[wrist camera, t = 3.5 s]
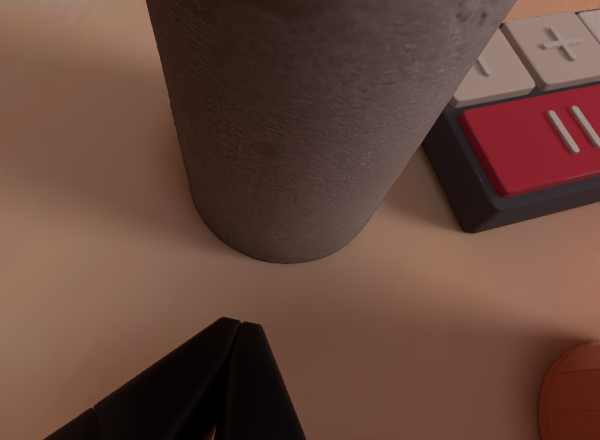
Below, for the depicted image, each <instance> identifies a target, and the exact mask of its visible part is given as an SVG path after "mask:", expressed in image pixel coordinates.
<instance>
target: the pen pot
mask: <svg viewBox="0 0 600 440" xmlns="http://www.w3.org/2000/svg"><path fill="white" fill-rule="evenodd" d="M538 417H539V428H540V434H541V439H542V440H600V340H599V341H596V342H592V343H586V344H582V345H579V346H576V347H574V348H571V349H569V350H568V351H566V352H565V353H563V354H562V355H561V356H560V357H559V358H558V359H557V360H556V361H555V362H554V363H553V364H552V366H551V367H550V369H549V370H548V372H547V374H546V376H545V379H544V381H543V384H542V388H541V391H540V398H539V413H538Z"/></svg>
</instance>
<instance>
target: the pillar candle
mask: <svg viewBox="0 0 600 440" xmlns="http://www.w3.org/2000/svg"><path fill="white" fill-rule="evenodd" d="M516 1H517V0H146V3H147V7H148V12H149V16H150V20H151V24H152V28H153V32H154V35H155V39H156V43H157V48H158V52H159V55H160V60H161V64H162V68H163V73H164V77H165V82H166V85H167V89H168V94H169V98H170V101H171V102H170V107H171V110H172V114H173V118H174V124H175V126H176V131H177V135H178V140H179V143H180V148H181V151H182V156H183V161H184V165H185V170H186V173H187V176H188V179H189V186H190V192H191V194H192V198H193V202H194V204H195V206H196V208H197V210H198V212H199V213H200V215H201V217H202V218H203V220H204V221H205V223H206V224H207V226H208V227H209V228H210V229H211V230H212V231H213V232H214V233H215V234H216V235H217V236H218V237H219V238H220V239H222V240H223V241H224V242H226V243H227V244H229V245H230V246H231V247H233V248H234V249H236V250H238V251H240V252H242V253H244V254H246V255H249V256H251V257H253V258H257V259H261V260H264V261H270V262H278V263H299V262H307V261H312V260H316V259H319V258H322V257H325V256H327V255H330V254H332V253H334V252H336V251H338V250H339V249H341V248H342V247H344V246H346V245H347V244H348V243H349V242H350V241H351V240H352V239H354V238H355V237H356V236H357V234H358V233H359V232H360V231H361V230H362V229H363V227H364V226H365V225H366V223H367V222H368V220H369V219H370V217H371V216H372V215H373V213H374V212H375V211H376V209H377V208H378V206H379V205H380V203H381V202H382V200H383V199H384V197H385V196H386V194H387V193H388V191H389V190H390V188H391V187H392V185H393V184H394V183H395V181H396V180H397V178H398V177H399V176H400V174H401V173H402V171H403V170H404V168H405V167H406V165H407V163H408V162H409V161H410V159H411V158H412V156H413V155H414V153H415V152H416V150H417V149H418V147H419V146H420V145H421V143H422V141H423V140H424V138H425V136H426V135H427V133H428V132H429V130H430V129H431V127H432V126H433V125H434V123H435V121H436V120H437V118H438V117H439V115H440V113H441V112H442V111H443V109H444V108H445V106H446V105H447V104H448V102H449V101H450V99H451V98H452V96H453V95H454V93H455V92H456V90H457V89H458V87H459V86H460V84H461V82H462V81H463V79H464V78H465V76H466V75H467V73H468V72H469V71H470V69H471V67H472V66H473V65H474V63H475V62H476V60H477V59H478V57H479V56H480V54H481V53H482V51H483V50H484V48H485V47H486V45H487V44H488V42H489V41H490V39H491V38H492V36H493V35H494V33H495V32H496V31H497V29H498V28H499V26H500V25H501V23H502V22H503V20H504V19H505V17H506V16H507V14H508V13H509V11H510V10H511V8H512V7H513V5H514V4H515V3H516Z"/></svg>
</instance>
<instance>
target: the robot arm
mask: <svg viewBox="0 0 600 440" xmlns="http://www.w3.org/2000/svg"><path fill="white" fill-rule="evenodd" d="M215 428H216V429H215ZM214 431H215V435H214V440H306V437H305V435H304V432H303V430H302V427H301V424H300V422H299V419H298V417H297V414H296V412H295V409H294V407H293V404H292V402H291V399H290V396H289V394H288V391H287V389H286V386H285V384H284V381H283V379H282V376H281V373H280V371H279V368H278V366H277V363H276V361H275V358H274V356H273V353H272V350H271V348H270V345H269V343H268V340H267V338H266V335H265V333H264V330H263V328H262V326H261V325H259V324H255V323H250V322H243V323H242V324H241V322H240V321H239V320H236V319H231V318H227V317H221V318H220V319H218V320H217V321H215V322H214V323H212V324H211V325H209V326H208V327H207V328H205V329H204V330H202V331H201V332H199V333H198V334H196V335H195V336H194V337H192V338H191V339H189V340H188V341H186V342H185V343H183V344H182V345H181V346H179V347H178V348H176V349H175V350H173V351H172V352H170V353H169V354H168V355H166V356H165V357H163V358H162V359H160V360H159V361H157V362H156V363H155V364H153V365H152V366H150V367H149V368H147V369H146V370H144V371H143V372H142V373H140V374H139V375H137V376H136V377H134V378H133V379H131V380H130V381H129V382H127V383H126V384H124V385H123V386H121V387H120V388H118V389H117V390H115V391H114V392H113V393H111V394H110V395H108V396H107V397H105V398H104V399H102V400H101V401H100V402H98V403H97V404H95V405H94V407H93V408H89V409H88V410H86V411H85V412H83V413H82V414H80V415H79V416H78V417H76V418H75V419H73V420H72V421H70V422H69V423H67V424H66V425H64V426H63V427H61V428H60V429H58V430H57V431H55V432H54V433H52V434H51V435H49V436H48V437H46V438H44V439H43V440H212V437H213V434H214Z"/></svg>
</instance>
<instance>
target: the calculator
mask: <svg viewBox="0 0 600 440" xmlns="http://www.w3.org/2000/svg"><path fill="white" fill-rule="evenodd" d="M422 144H423V146H424V148H425V150H426V152H427V154H428V156H429V158H430V160H431V163H432V165H433V167H434V169H435V171H436V173H437V175H438V177H439V179H440V181H441V183H442V185H443V187H444V190H445V192H446V194H447V196H448V198H449V200H450V202H451V204H452V206H453V208H454V210H455V212H456V215H457V217H458V219H459V221H460V223H461V225H462V227H463V228H464V230H465V231H467V232H469V233H477V232H481V231H485V230H489V229H493V228H497V227H501V226H505V225H508V224H512V223H516V222H520V221H524V220H528V219H532V218H536V217H540V216H543V215H547V214H551V213H555V212H559V211H563V210H567V209H571V208H575V207H579V206H582V205H586V204H590V203H594V202H598V201H600V9H595V10H588V11H581V12H575V13H573V12H564V13H557V14H551V15H544V16H537V17H531V18H524V19H517V20H510V21H507V22H505V23H501V25H500V26H499V28H498V29H497V31H496V32H495V33H494V35H493V36H492V38H491V39H490V41H489V42H488V44H487V45H486V47H485V48H484V50H483V51H482V53H481V54H480V56H479V57H478V59H477V60H476V62H475V63H474V65H473V66H472V67H471V69H470V71H469V72H468V73H467V75H466V76H465V78H464V79H463V81H462V82H461V84H460V86H459V87H458V89H457V90H456V92H455V93H454V95H453V96H452V98H451V99H450V101H449V102H448V104H447V105H446V106H445V108H444V109H443V111H442V112H441V113H440V115H439V117H438V118H437V120H436V121H435V123H434V125H433V126H432V127H431V129H430V130H429V132H428V133H427V135H426V136H425V138H424V140H423V141H422Z"/></svg>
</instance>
